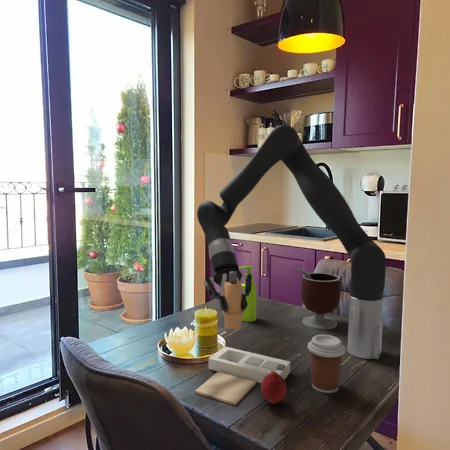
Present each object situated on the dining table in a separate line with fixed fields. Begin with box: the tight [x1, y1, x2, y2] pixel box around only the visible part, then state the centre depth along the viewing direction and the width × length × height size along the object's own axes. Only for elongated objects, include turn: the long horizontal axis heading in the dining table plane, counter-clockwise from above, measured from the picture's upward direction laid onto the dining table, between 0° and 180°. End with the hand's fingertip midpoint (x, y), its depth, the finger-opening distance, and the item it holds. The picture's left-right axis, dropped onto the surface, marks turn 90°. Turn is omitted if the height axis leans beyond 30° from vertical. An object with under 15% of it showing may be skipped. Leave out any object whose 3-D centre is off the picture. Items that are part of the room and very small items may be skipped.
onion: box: [260, 370, 288, 405], centre depth 89 cm, size 6×6×8 cm
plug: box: [222, 271, 243, 330], centre depth 105 cm, size 6×6×15 cm
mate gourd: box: [296, 267, 342, 330], centre depth 140 cm, size 16×14×20 cm
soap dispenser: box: [238, 265, 257, 323], centre depth 144 cm, size 6×7×20 cm
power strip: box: [208, 346, 291, 384], centre depth 105 cm, size 20×9×3 cm, turn 61°
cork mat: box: [194, 371, 257, 406], centre depth 96 cm, size 11×11×1 cm
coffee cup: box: [306, 334, 346, 394], centre depth 96 cm, size 9×9×12 cm
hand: (235, 309), depth 104 cm, fingers closed on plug, 4 cm apart
